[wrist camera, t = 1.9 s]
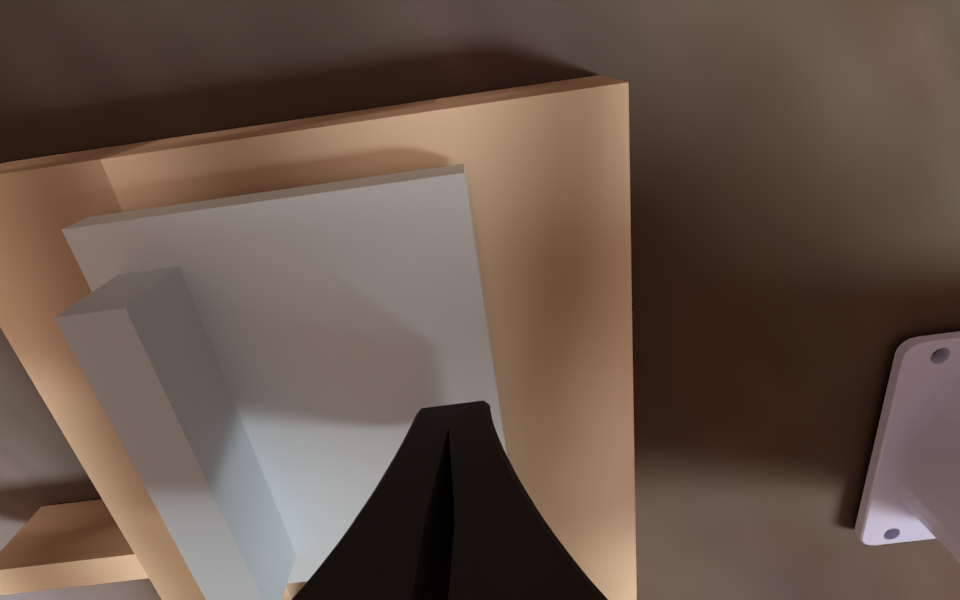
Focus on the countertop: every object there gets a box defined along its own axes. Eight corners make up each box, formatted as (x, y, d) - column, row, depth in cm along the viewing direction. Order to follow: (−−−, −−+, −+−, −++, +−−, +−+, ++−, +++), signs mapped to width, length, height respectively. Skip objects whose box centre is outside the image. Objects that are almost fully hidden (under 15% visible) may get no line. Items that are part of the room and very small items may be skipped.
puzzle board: (599, 74, 12) (628, 82, 10) (622, 683, 22) (638, 752, 20) (-170, 187, 13) (-298, 217, 11) (188, 728, 23) (159, 799, 21)
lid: (463, 163, 10) (463, 199, 8) (518, 531, 15) (528, 625, 12) (88, 216, 11) (-18, 266, 8) (249, 562, 15) (209, 659, 13)
